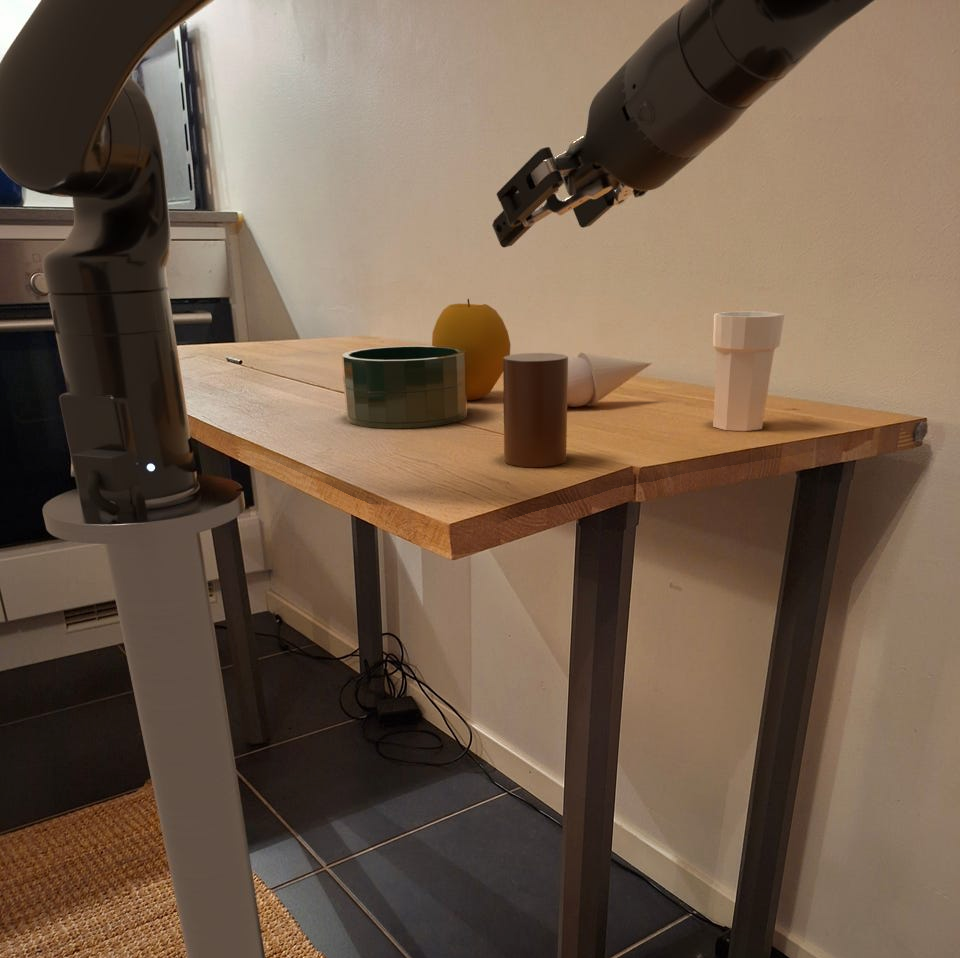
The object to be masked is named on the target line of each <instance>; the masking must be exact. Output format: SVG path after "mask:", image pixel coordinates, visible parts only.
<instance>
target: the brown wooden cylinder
mask: <svg viewBox="0 0 960 958" xmlns="http://www.w3.org/2000/svg"><path fill="white" fill-rule="evenodd" d="M568 358H569V356H568V355H566V354H561V353H551V352H549V353H548V352H530V353H528V352H527V353H516V354H510V355H509V356H505V357H504V358H503V373H502V374H503V376H502V377H503V460H504V462H505V463H506V464H508V465H510V466H514V467H520V468H549V467H555V466H559V465H562V464H564V463H565V462H566V461H567V434H568V433H567V432H568V406H567V390H568Z"/></svg>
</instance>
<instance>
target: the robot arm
mask: <svg viewBox="0 0 960 958" xmlns="http://www.w3.org/2000/svg"><path fill="white" fill-rule="evenodd" d="M214 1H215V0H40V1H39V2H38V4H37V5H36V7H35V8H34V10H33V11H32V13H31V14H30V16H29V17H28V18H27V21H25V23H24V25H23V27H22V28H21V29H20V31H19V32H18V34H17V35H16V37H14V39H13V41H12V42H11V44H10V45H9V47H8V49H7V51H6V52H5V54H4V55H3V57H2V59H1V61H0V169H1V170H2V172H3V173H4V174H5V176H7V177H8V178H9V179H10V180H11V181H13V182H14V183H16V184H17V185H19V186H20V187H22V188H24V189H26V190H29V191H32V192H35V193H37V194H38V193H39V194H42V195H49V196H54V197H60V198H71V199H72V207H73V226H72V229H71V230H70V233H69V234H68V236H67V237H66V238H65V239H64V240H63V241H62V242H61V243H59V244H58V245H57V246H56V247H54V248H53V249H51V250H50V251H48V252H47V253H46V254H45V255H44V256H43V258H42V274H43V279H44V283H45V289H46V292H47V293H48V294H47V298H48V303H49V308H50V313H51V317H52V318H51V319H52V323H53V327H54V333H55V339H56V342H57V348H58V353H59V358H60V362H61V367H62V372H63V377H64V382H65V387H66V392H64V393H61V394H60V395H59V397H58V401H59V406H60V411H61V416H62V420H63V425H64V431H65V434H66V440H67V444H68V445H67V446H68V449H69V455H70V460H71V464H72V470H73V472H74V479H75V483H76V484H75V485H76V489H78V493H79V498H80V503H81V508H88V509H97V510H103V511H105V512H107V513H109V514H110V515H112V516H115V515H117V514H118V513H119V512H123V513H132V514H137V513H141V512H143V511H147V510H152V509H159V508H165V507H169V506H174V505H177V504H181V503H184V502H187V501H189V500H191V499H193V498H195V497H197V496H198V495H199V494H200V486H199V481H198V480H197V475H198V473H197V469H196V462H195V455H194V454H195V453H196V448H195V441H194V438H193V437H192V435H191V430H190V429H191V428H190V423H189V416H188V410H187V403H186V397H185V396H186V395H185V390H184V383H183V377H182V371H181V370H182V369H181V365H180V364H181V363H180V357H179V350H178V344H177V338H176V332H175V324H174V317H173V311H172V303H171V298H170V291H169V289H168V288H169V283H168V274H167V268H168V261H169V258H170V255H171V249H172V248H171V247H172V231H171V221H170V211H169V210H170V209H169V202H168V200H169V199H168V191H167V190H168V189H167V181H166V169H165V162H164V154H163V152H164V151H163V146H162V141H161V135H160V131H159V126H158V121H157V119H156V117H155V113H154V110H153V108H152V106H151V103H150V100H149V99H148V97H147V96H146V93H145V92H144V91H143V90H142V88H141V86H140V85H139V84H138V83H137V82H136V81H135V80H134V79H133V78H132V77H131V75H132V74H133V72H134V71H135V70H136V69H137V67H138V66H139V64H140V63H141V61H142V60H143V59H144V58H145V56H146V55H147V54H148V53H149V52H150V51H151V50H152V49H153V48H154V47H155V46H156V45H157V44H158V43H159V42H160V41H161V40H162V39H163V38H165V37H166V36H168V35H169V34H170V33H171V32H173V31H174V30H175V29H176V28H178V27H180V25H182V24H184V22H186V21H188V20H189V19H190V18H192V17H194V15H196V14H198V13H199V12H201V11H202V10H203V9H204V8H207V6H209V5H210V4H212V3H213V2H214ZM874 1H876V0H688V1H687V2H686V3H685V4H684V5H683V6H682V7H681V8H680V9H678V10H677V11H676V12H675V13H674V14H672V15H671V16H669V17H668V18H667V19H666V20H665V21H663V22H662V23H661V24H660V25H659V26H658V27H657V28H656V29H655V30H654V31H653V32H651V34H650V35H649V37H648V38H646V40H645V41H643V43H642V44H641V45H640V46H639V48H637V49H636V51H635V52H634V53H633V54H632V55H631V56H630V57H629V58H628V59H627V60H626V61H625V63H623V64H622V65H621V67H620V68H619V69H618V70H617V71H616V72H615V73H614V75H612V76H611V78H609V80H608V81H607V82H606V83H605V84H604V85H603V86H602V88H600V90H599V91H598V92H597V93H596V94H595V96H594V97H593V99H592V101H591V103H590V105H589V109H588V116H587V123H586V131H585V134H584V135H583V136H581V137H579V138H578V139H576V140H574V141H573V142H571V143H570V144H569V146H568V148H567V149H566V150H565V151H563V152H562V153H560V154H558V155H557V156H554V154H553V151H552V150H551V147H549V146H546V147H542V148H540V149H539V150H537V152H535V153H534V154H533V155H532V156H531V157H530V159H529V160H528V161H526V162H525V163H524V165H523V166H521V167H520V169H519V170H517V172H516V173H515V174H514V175H513V176H512V177H511V178H509V180H508V181H507V182H506V183H505V184H504V185H503V186H502V187H501V188H500V189H499V190H498V191H497V193H496V197H497V199H498V201H499V203H500V206H501V208H502V211H501V212H500V214H498V215H497V216H496V217H495V219H494V220H493V222H492V224H491V226H492V228H493V230H494V233H495V235H496V238H497V240H498V242H499V245H500V246H501V248H508V247H511V246H513V245H514V244H515V243H516V242H517V241H518V240H519V239H520V238H522V237H523V236H524V235H525V234H526V232H528V230H530V229H531V228H532V227H533V226H534V225H535V224H536V223H538V222H540V221H541V220H543V219H544V218H546V217H547V216H549V215H551V214H555V215H556V216H558V217H561V216H563V215H565V214H566V213H568V212H570V211H571V210H573V213H574V215H575V218H576V220H577V223H578V226H579V227H580V228H581V229H582V228H583V229H584V228H587V227H591V226H592V225H594V223H596V222H597V221H598V220H599V219H600V218H601V217H602V216H603V215H605V214H606V213H607V212H608V211H609V210H610V209H611V208H613V207H614V206H620V205H623V204H624V203H625V202H626V201H627V200H628V199H629V197H631V196H633V197H634V198H639V197H640V198H642V197H643V196H645V195H646V193H647V192H650V191H653V190H656V189H659V188H661V187H663V186H664V185H666V183H667V182H669V181H670V180H671V179H672V178H673V177H674V176H676V175H677V174H678V173H679V172H680V171H682V170H683V169H684V168H685V167H686V166H687V165H689V164H690V163H691V162H692V161H693V160H695V159H696V158H697V157H698V156H700V155H701V154H702V153H703V152H705V150H706V149H708V148H709V147H710V146H711V145H712V144H714V143H715V142H716V141H717V140H718V139H719V138H721V137H722V136H723V135H724V134H725V133H727V132H728V131H729V130H730V129H731V128H732V127H733V126H734V125H735V124H736V123H737V122H738V121H739V119H741V117H742V116H743V115H744V114H745V113H746V112H747V110H748V109H749V108H750V107H751V106H752V105H754V104H755V103H756V102H757V101H758V100H759V99H761V97H763V96H764V95H765V94H766V93H768V91H770V90H771V89H772V88H773V87H774V86H776V85H777V84H778V83H779V82H780V81H782V80H783V79H784V78H785V77H786V76H787V75H789V74H790V73H791V72H792V71H793V70H794V69H795V68H796V67H798V66H799V65H800V64H801V63H802V62H803V60H804V59H805V58H806V57H807V56H808V55H809V54H811V52H812V51H813V50H815V49H816V48H817V47H818V46H819V45H820V44H821V43H822V42H823V41H824V40H825V39H826V38H827V37H828V36H830V34H832V33H833V32H834V31H835V30H836V29H838V28H840V26H842V25H843V24H845V23H846V22H847V21H849V20H850V19H852V18H853V17H854V16H856V15H857V14H858V13H860V12H861V11H863V10H864V9H865V8H867V6H869V5H871V4H872V3H873V2H874ZM563 185H564V187H565V190H566V193H567V195H568V196H569V197H566V198H565V199H563V200H562V199H561V197H560V195H559V189H560V188H561V187H562V186H563ZM542 204H543V205H542Z"/></svg>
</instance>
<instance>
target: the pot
mask: <svg viewBox="0 0 960 958" xmlns="http://www.w3.org/2000/svg"><path fill="white" fill-rule="evenodd" d="M341 367H342V379H343V380H342V381H343V391H344V404H345V414H346V420H347V422H348V423H350V424H353V425H355V426H360V427H365V428H372V429H373V428H374V429H394V430H395V429H396V430H398V429H402V430H403V429H421V428H430V427H431V428H432V427H439V426H445V425H450V424H454V423H457V422H460V421H462V420H465V419H466V418H467V416H468V400H467V371H466V351H465V350H463V349H459V348H453V347H441V346H432V345H397V346H379V347H370V348H360V349H355V350H350V351H346V352H344V353H342V354H341Z"/></svg>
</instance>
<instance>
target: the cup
mask: <svg viewBox="0 0 960 958" xmlns="http://www.w3.org/2000/svg"><path fill="white" fill-rule="evenodd" d="M784 319H785V314H784V313H782V312H773V311H750V310H749V311H747V310H746V311H723V312H717V313H714V314H713V336H712V337H713V339H712V346H713V348H714V350H715V369H714V370H715V371H714V395H713V396H714V402H713V423H712V424H713V425H712V427H713V428H716V429H720V430H724V431H734V432H735V431H737V432H750V431H757V430H762V429H763V427H764V419H765V412H766V408H767V407H766V406H767V399H768V393H769V388H770V381H771V376H772V375H771V374H772V369H773V363H774V362H773V361H774V357H775V351H776V349H777V348H779V347H780V343H781V338H782V332H783V325H784Z"/></svg>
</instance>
